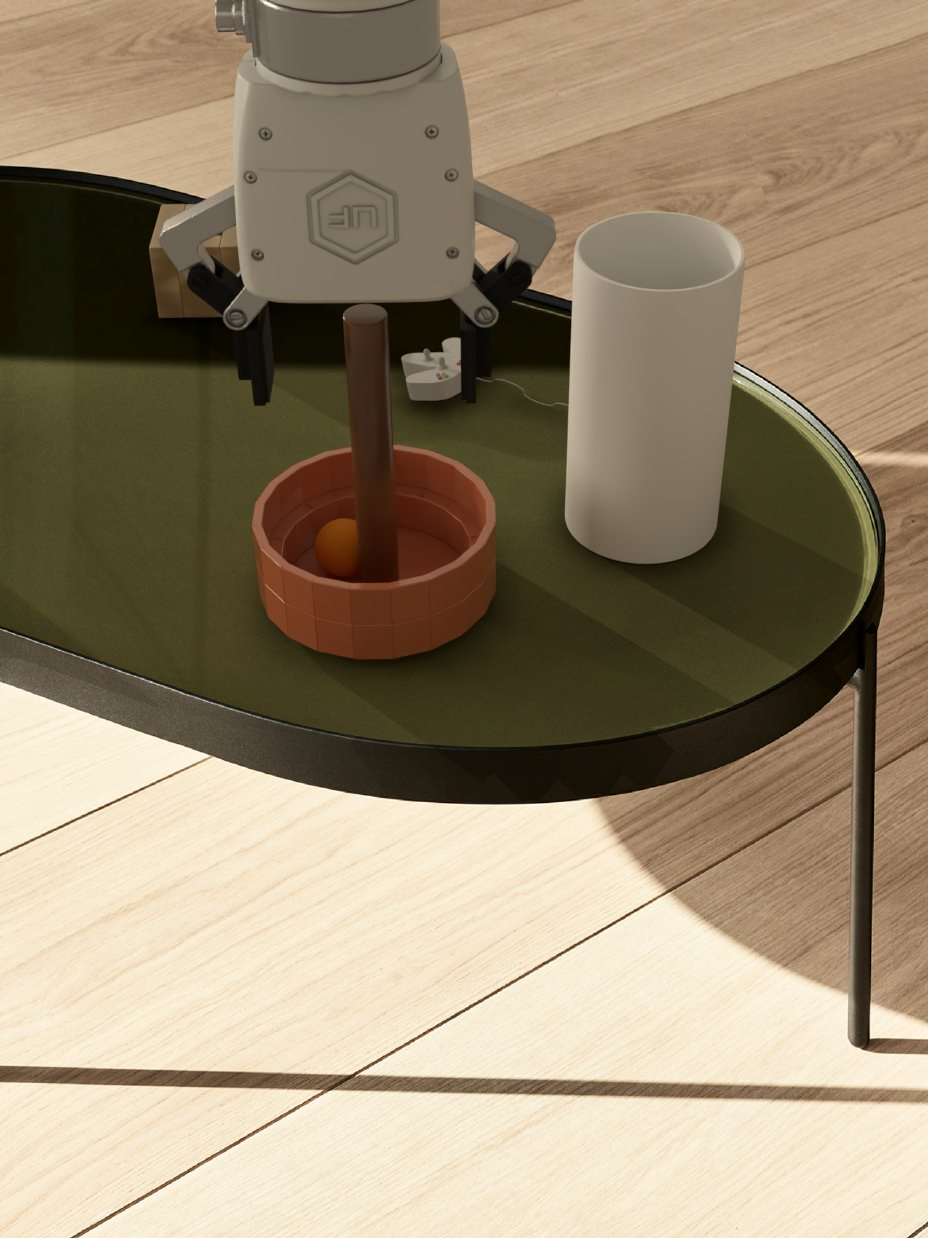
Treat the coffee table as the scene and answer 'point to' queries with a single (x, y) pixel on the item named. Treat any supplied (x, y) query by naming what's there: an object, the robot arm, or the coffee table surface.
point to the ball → (338, 548)
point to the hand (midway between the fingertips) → (366, 388)
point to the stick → (371, 441)
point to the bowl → (427, 553)
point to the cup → (650, 383)
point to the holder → (172, 283)
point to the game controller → (437, 373)
